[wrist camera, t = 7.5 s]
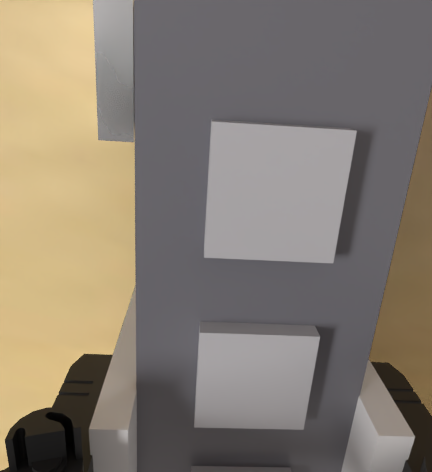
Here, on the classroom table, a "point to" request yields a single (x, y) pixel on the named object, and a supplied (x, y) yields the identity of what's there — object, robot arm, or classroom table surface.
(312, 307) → the power strip
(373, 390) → the robot arm
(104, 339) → the classroom table surface
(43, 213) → the classroom table surface
